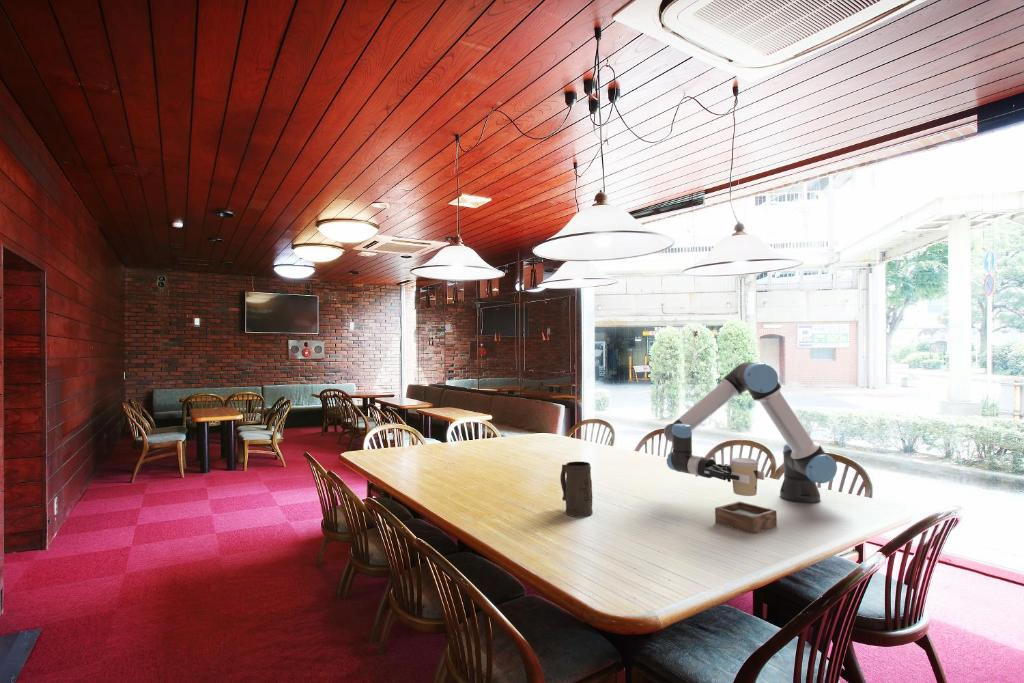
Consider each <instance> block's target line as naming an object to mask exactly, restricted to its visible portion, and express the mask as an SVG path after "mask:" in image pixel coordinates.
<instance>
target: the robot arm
mask: <svg viewBox="0 0 1024 683" xmlns="http://www.w3.org/2000/svg"><path fill="white" fill-rule="evenodd" d="M781 388H782V386H781V384H780V383H779V376H778V373H777V371H776V369H775V368H773V367H772V365H769V364H768V363H765V362H761V361H758V362H757V361H756V362H750V361H746V362H743V363H740V364H739V365H737V366H736V367H735V368H733V369H732V370H731V371H730V372H729V373H727V374H726V375H725V376H724V377H722V379H721V382H720V383H719V384H718V385H717V386H716V387H715V388H713V389H712V390H711V391H710V392H709V393H707V394H706V395H705V396H704V397H703V398H701V399H700V400H699V401H698V402H697V403H696V404H694V405H693V406H692V407H690V408H689V409H688V410H687V411H686V412H685V413H684V414H683V415H680V417H679V418H677V419H676V420H675V421H674V422H672V423H669V424H667V425H666V426H665V427H664V429H663V434H664V437H665V438H666V440H667V441H669V442H671V443H672V451H671V452H669V453H668V454H667V457H666V465H667V467H668V468H669V469H670V470H672V471H676V472H679V473H685V474H689V475H694V476H695V477H697V478H698V477H703V478H708V479H712V478H715V479H718V480H722V481H727V482H728V483H731V482H732V480H734V481H738V482H743V483H748V484H749V476H748V475H744V474H738V473H734V472H732V470H731V464H728V463H725V464H721V463H717V462H716V461H715V460H714V459H713V458H709V457H704V456H699V455H693V449H692V448H693V446H692V445H693V438H692V436H693V431H694V430H695V429H696V428H697V427H699V426H700V425H701V424H702V423H703V422H705V421H706V420H707V419H708V418H709V417H711V416H712V415H714V414H715V412H717V411H718V410H719V409H721V408H722V407H723V406H724V405H725V404H726V403H728V402H729V401H730V400H732V398H734V397H735V396H736V397H739V396H740V395H741V394H743V393H744V392H746V391H748V393H749V395H750V396H751V398H752V399H753V401H756V402H759V403H760V405H761V406H762V407H763V409H764V411H765V412H766V414H767V415H768V417H769V418H770V419H771V421H772V422H773V423H772V424H774V425H775V427H776V429H777V431H778V432H779V434H780V435H781V436H782V438H783V439H784V441H785V442H786V444H784V445H783V451H782V454H783V455H782V456H783V476H784V477H783V481H782V484H781V487H780V490H779V496H780V498H782V499H784V500H787V501H790V500H791V502H797V503H819V502H821V493H820V490H819V488H818V486H817V484H826V483H828V482H830V481H832V480H833V479H834V478H835V477H836V474H837V471H838V466H837V462H836V460H835V459H834V458H833V457H832V456H830V455H828V454H827V453H826V452H825V451H824V449H823V448H822V446H821V445H820V443H818V442H816V441H813V440H812V437H811V436H810V435H809V434H808V432H807V431H806V429H805V428H804V426H803V425H802V423H801V421H800V420H799V419H798V417H797V415H796V414H795V413H794V411H793V409H792V408H791V406H790V405H789V403H788V402H787V400H786V398H785V397H784V395H783V394H782V393H781ZM757 480H762V481H763V480H765V471H760V470H758V476H757Z"/></svg>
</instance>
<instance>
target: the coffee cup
mask: <svg viewBox="0 0 1024 683" xmlns="http://www.w3.org/2000/svg"><path fill="white" fill-rule="evenodd" d="M730 465H731V470H732V472H734V473H738V474H744V475H748V476H749V484H748V483H743V482H738V481H734V480H732V479H731V482H732V490H733V494H735V495H736V496H737V495H738V496H741V497H743V496H744V497H754V496H757V494H758V493H757V492H758V479H757V476H758V471H759V470H758V469H759V462H758V460H756V459H753V458H748V457H745V458H744V457H736V458H731V459H730Z"/></svg>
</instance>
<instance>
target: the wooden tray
mask: <svg viewBox="0 0 1024 683" xmlns="http://www.w3.org/2000/svg"><path fill="white" fill-rule="evenodd" d="M714 510H715V511H714V521H715V524H718V523H719V524H718V525H721V524H722V525H721V526H724V525H725V527H728V526H729V528H731V527H732V529H734V528H735V529H736V530H738V529H739V530H738V531H741V530H742V531H741V532H744V531H745V532H744V533H748V532H749V534H751V533H752V534H751V535H754V534H757V533H760V532H763V531H766V530H768V528H769V529H771V527H772V528H774V526H775V527H777V524H778V523H777V522H778V519H777V510H776V509H771V508H768V507H764V506H759V505H755V504H751V503H748V502H744V501H740V500H739V501H735V502H732V503H729V504H728V503H727V504H725V505H721V506H717V507H714ZM735 529H734V530H735ZM765 529H766V530H765ZM762 530H763V531H762ZM759 531H760V532H759ZM756 532H757V533H756ZM753 533H754V534H753Z"/></svg>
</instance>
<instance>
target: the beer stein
mask: <svg viewBox="0 0 1024 683" xmlns="http://www.w3.org/2000/svg"><path fill="white" fill-rule="evenodd" d="M591 469H592V468H591V464H590V462H587V461H569V462H567V463H566V464H561V473H560V477H559V480H560V485H561V490H562V494H563V496H562V498H561V499H562V502H565V511H564V512H566V513H567V514H569V515H573V516H587V517H590V516H591V514H593V511H594V510H593V481H592V480H593V479H592V473H591ZM566 513H565V514H566ZM567 514H566V515H567ZM569 515H568V516H569ZM589 515H590V516H589ZM573 516H572V517H573Z"/></svg>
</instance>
